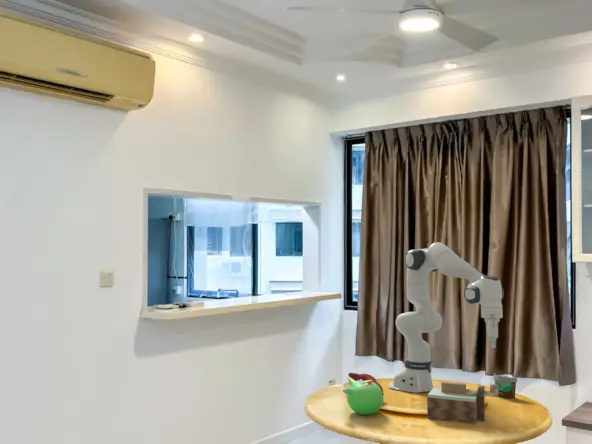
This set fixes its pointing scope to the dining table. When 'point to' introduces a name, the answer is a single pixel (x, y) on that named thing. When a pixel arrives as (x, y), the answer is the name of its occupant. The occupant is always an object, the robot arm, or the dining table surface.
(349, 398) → the toy bird
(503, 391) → the food container
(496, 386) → the wooden key
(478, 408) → the toolbox
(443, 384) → the toolbox lid
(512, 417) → the dining table surface
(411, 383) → the robot arm
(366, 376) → the red toy dinosaur
